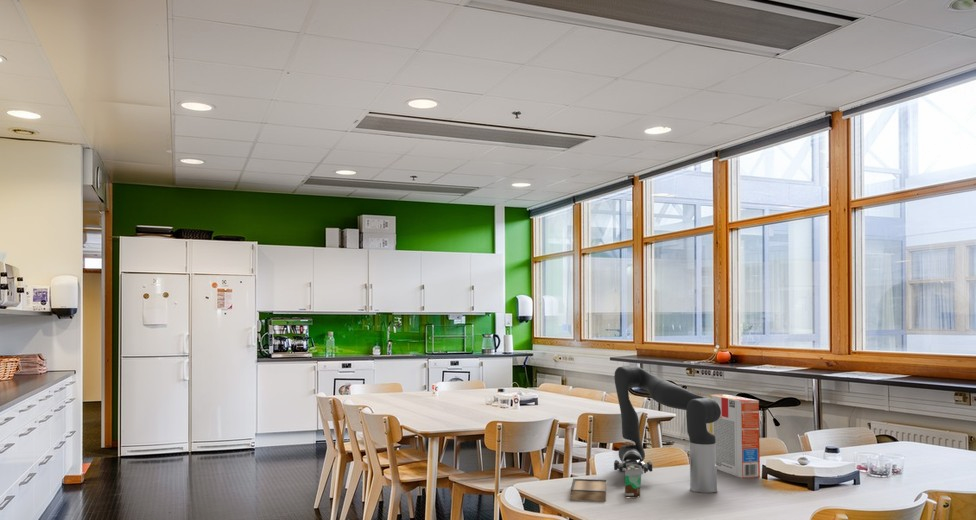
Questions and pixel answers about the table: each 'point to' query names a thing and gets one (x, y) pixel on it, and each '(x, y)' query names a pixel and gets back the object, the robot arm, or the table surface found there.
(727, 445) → the pasta box
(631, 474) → the food container
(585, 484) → the dock
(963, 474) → the table surface
